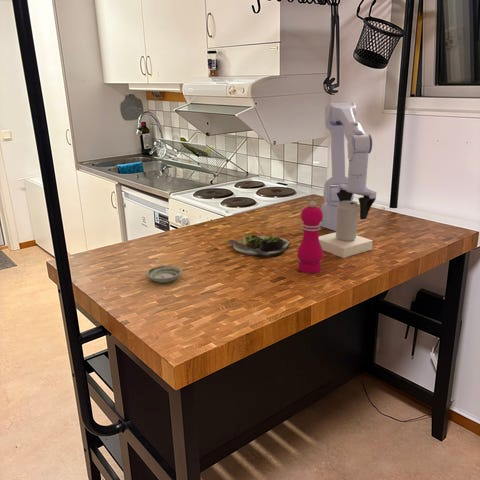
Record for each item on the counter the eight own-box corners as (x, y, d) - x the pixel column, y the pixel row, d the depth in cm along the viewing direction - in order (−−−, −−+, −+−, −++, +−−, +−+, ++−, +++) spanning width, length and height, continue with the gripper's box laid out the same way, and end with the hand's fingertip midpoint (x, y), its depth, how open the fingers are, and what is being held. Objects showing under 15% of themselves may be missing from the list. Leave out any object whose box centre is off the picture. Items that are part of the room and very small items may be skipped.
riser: (313, 246, 154) (314, 237, 153) (341, 239, 161) (342, 230, 160) (343, 257, 144) (344, 248, 143) (371, 249, 151) (372, 240, 150)
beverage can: (354, 242, 148) (357, 205, 144) (333, 240, 150) (336, 203, 146) (357, 236, 154) (359, 200, 150) (337, 234, 156) (339, 199, 152)
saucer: (189, 278, 130) (189, 270, 129) (162, 290, 123) (162, 281, 122) (166, 270, 136) (165, 262, 135) (139, 280, 129) (138, 272, 128)
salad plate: (217, 253, 149) (217, 239, 148) (240, 237, 165) (240, 224, 163) (275, 262, 142) (275, 247, 140) (293, 244, 157) (294, 231, 156)
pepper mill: (292, 266, 138) (294, 199, 131) (314, 263, 140) (317, 197, 134) (304, 275, 131) (307, 205, 125) (327, 271, 134) (330, 202, 127)
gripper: (384, 176, 144) (380, 219, 148) (349, 169, 155) (346, 209, 160) (368, 178, 140) (365, 222, 145) (333, 171, 152) (331, 212, 156)
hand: (354, 216), depth 152 cm, fingers open, 7 cm apart
